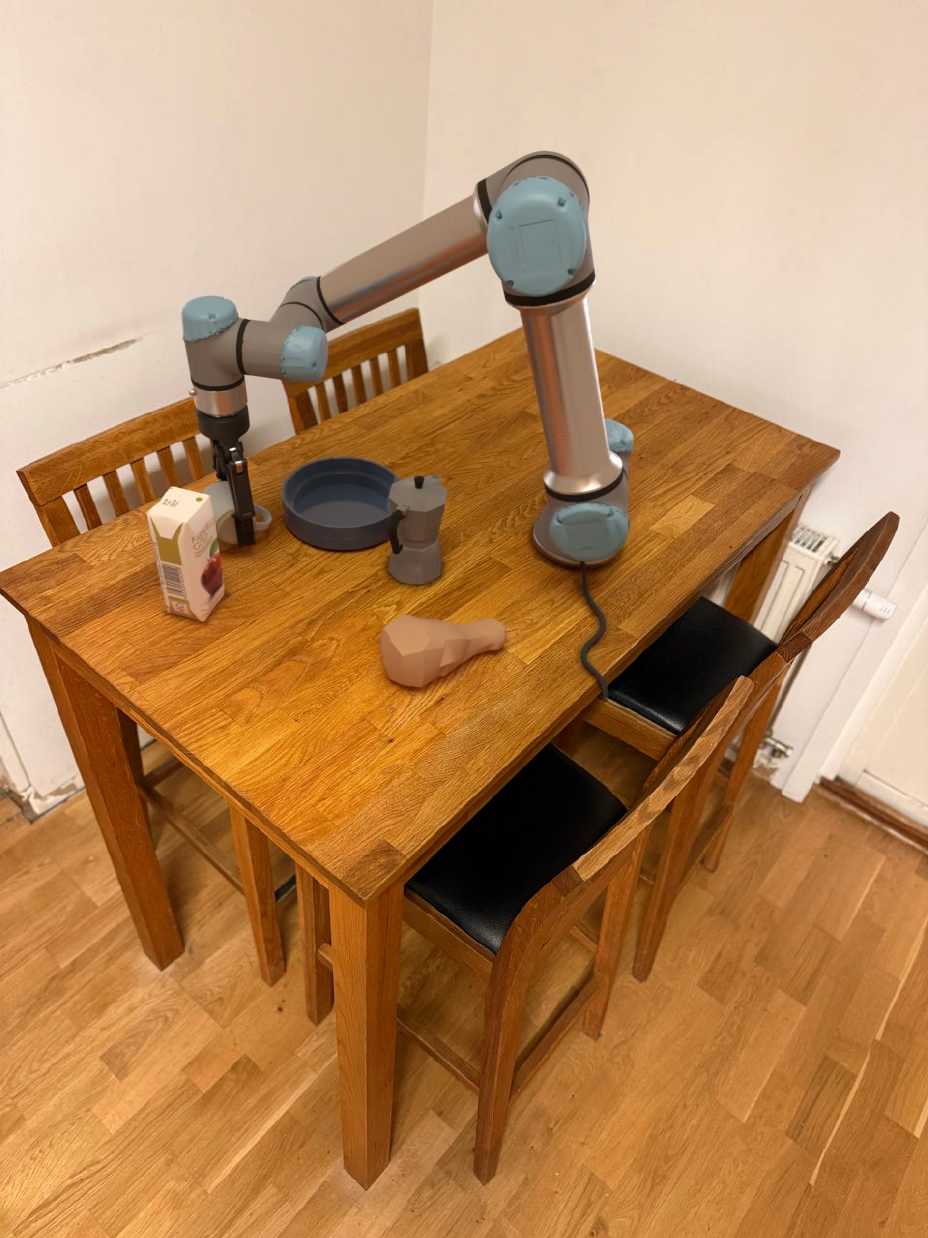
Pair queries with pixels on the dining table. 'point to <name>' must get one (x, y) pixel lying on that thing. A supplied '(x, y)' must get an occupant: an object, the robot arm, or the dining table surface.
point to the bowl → (339, 502)
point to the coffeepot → (416, 529)
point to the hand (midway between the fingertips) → (238, 528)
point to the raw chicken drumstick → (434, 646)
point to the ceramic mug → (225, 507)
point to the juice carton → (187, 553)
